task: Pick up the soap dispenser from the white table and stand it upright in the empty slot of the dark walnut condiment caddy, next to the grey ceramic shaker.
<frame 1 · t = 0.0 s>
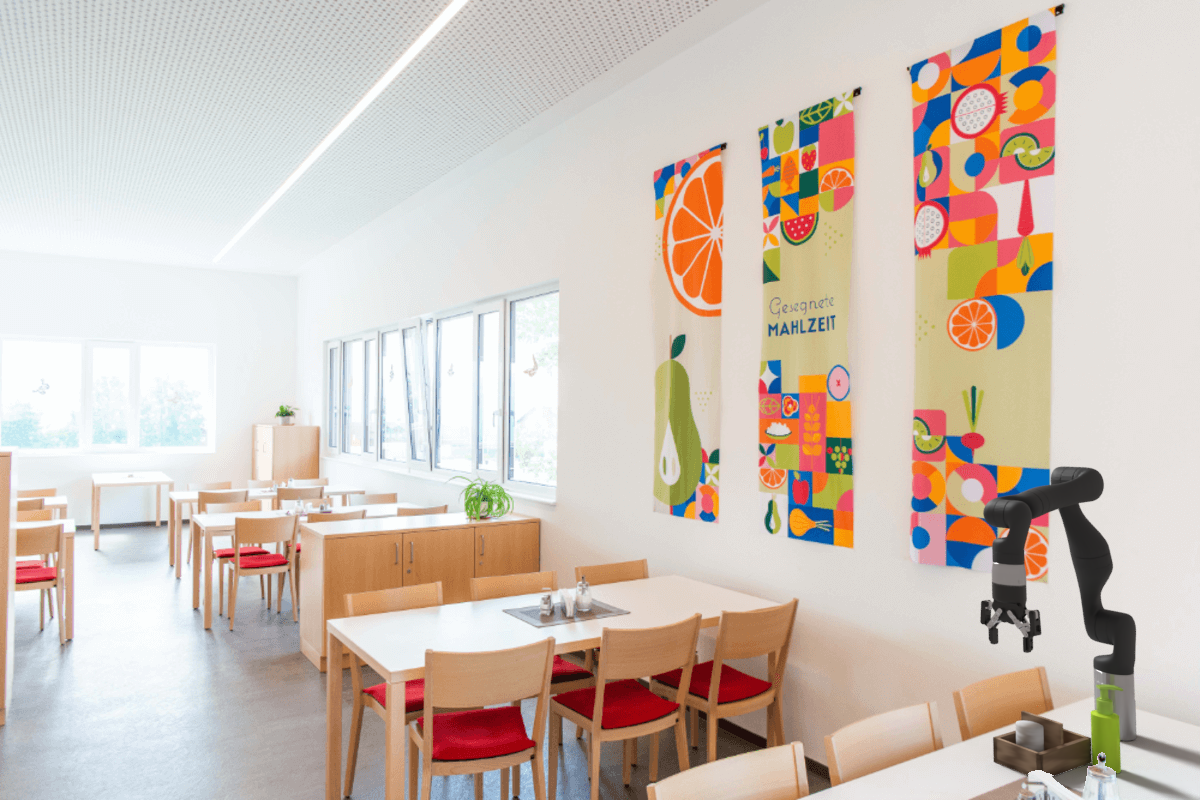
hand: (1010, 647, 188), 29 cm above the table, tool pointing down, fingers open, 8 cm apart
soap dispenser: (1108, 769, 187), on the table
caddy: (1042, 762, 191), on the table
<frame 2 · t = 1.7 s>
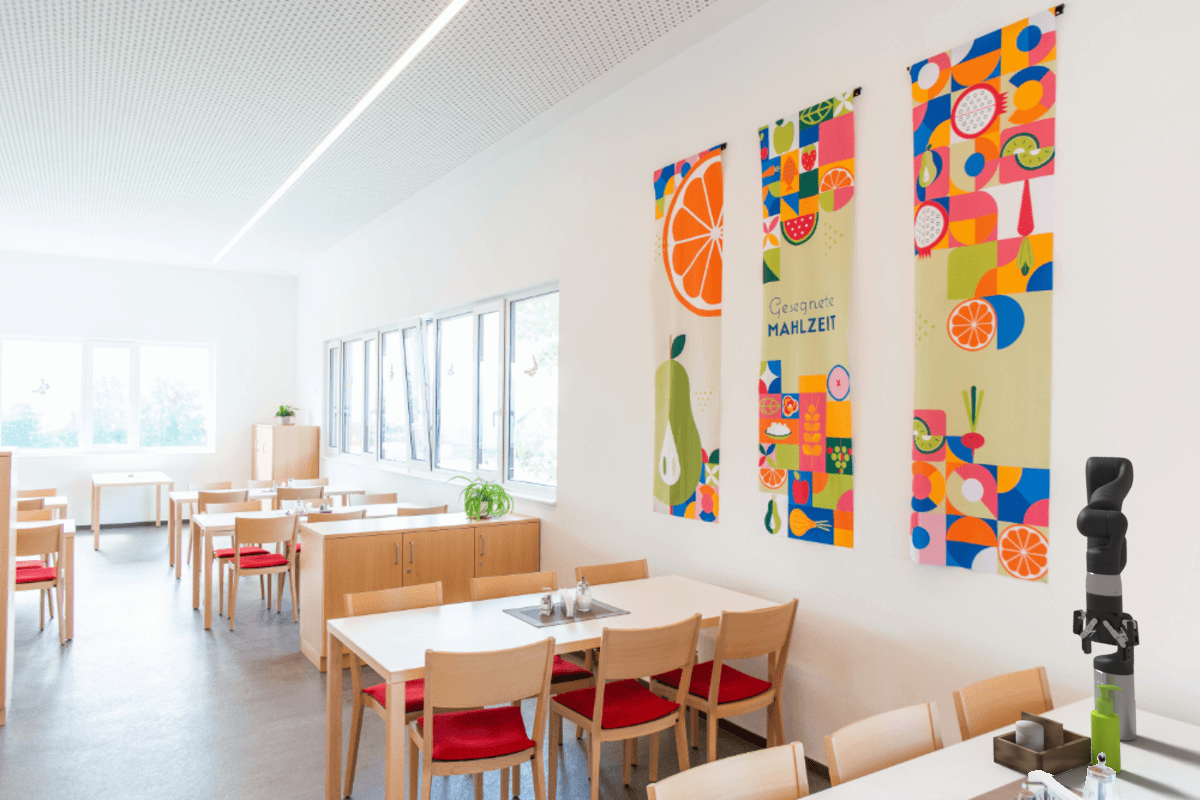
hand: (1105, 657, 188), 27 cm above the table, tool pointing down, fingers open, 8 cm apart
nothing on the table moved.
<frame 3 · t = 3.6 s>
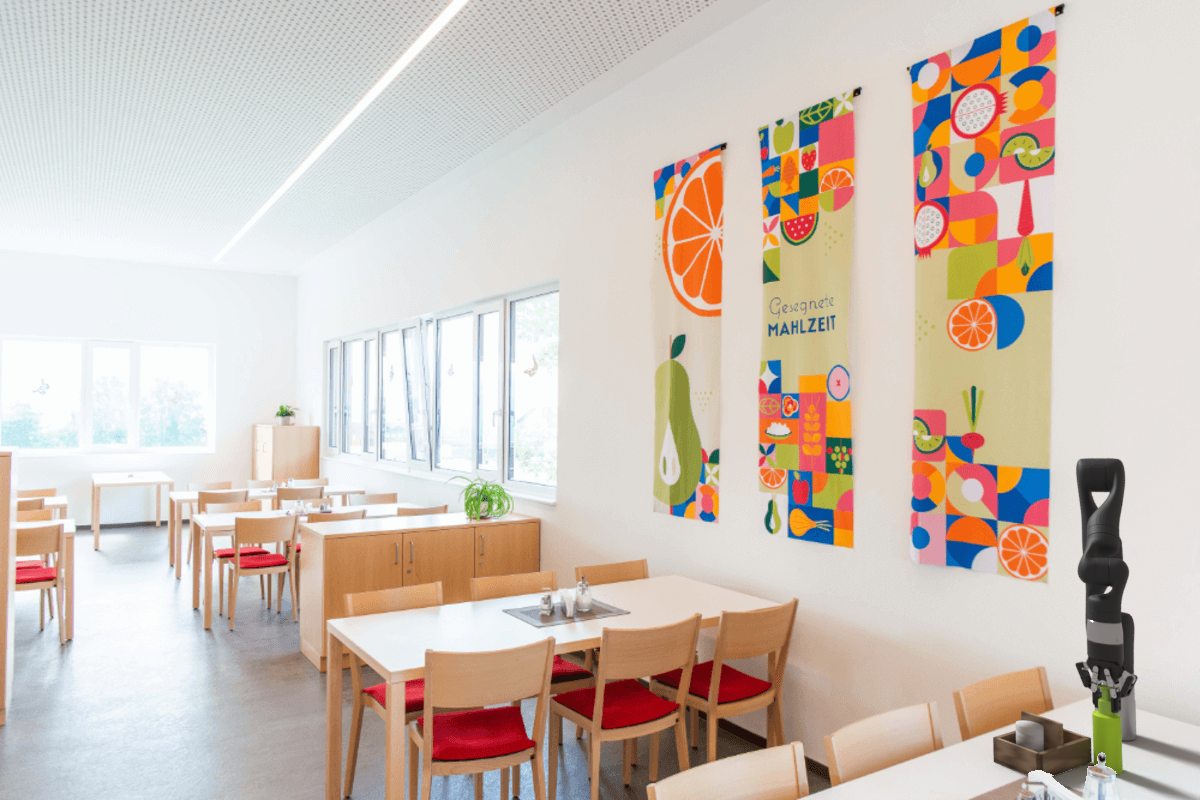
hand: (1106, 709, 188), 14 cm above the table, tool pointing down, fingers closed on soap dispenser, 3 cm apart
soap dispenser: (1110, 770, 187), on the table, touching gripper
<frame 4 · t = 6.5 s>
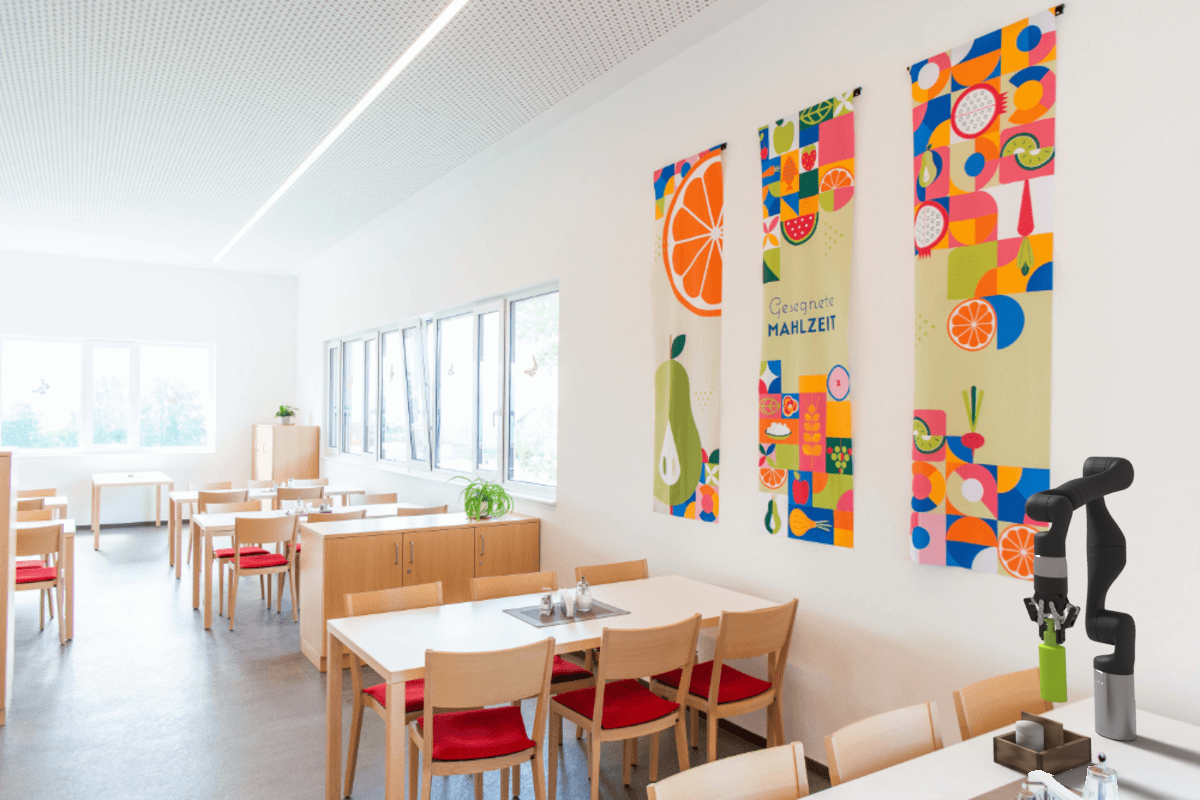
hand: (1052, 641, 195), 29 cm above the table, tool pointing down, fingers closed on soap dispenser, 3 cm apart
soap dispenser: (1056, 699, 193), point 15 cm above the table, touching gripper
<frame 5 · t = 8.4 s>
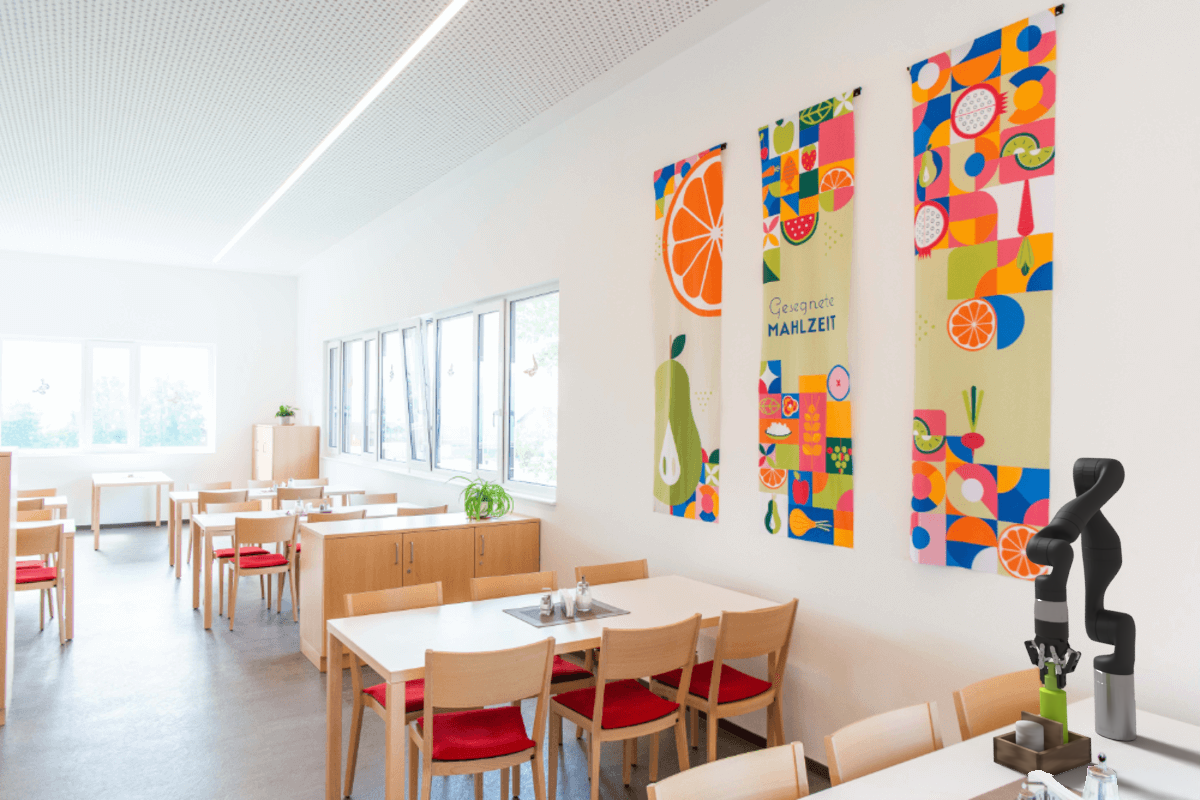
hand: (1052, 685, 194), 18 cm above the table, tool pointing down, fingers closed on soap dispenser, 3 cm apart
soap dispenser: (1057, 744, 193), point 4 cm above the table, touching gripper
when the fingers open (17 cm above the table, at t = 9.5 s): soap dispenser drops 1 cm, resting on caddy.
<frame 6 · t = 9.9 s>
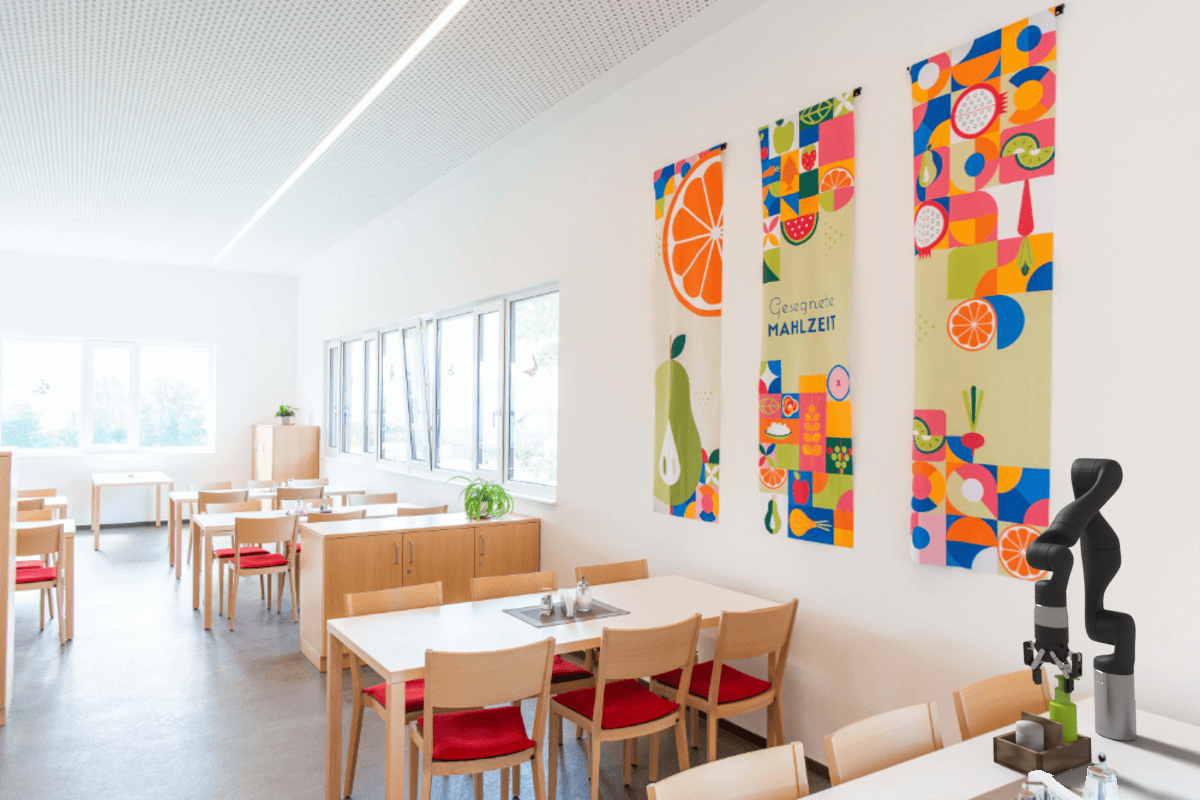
hand: (1052, 688, 194), 17 cm above the table, tool pointing down, fingers open, 7 cm apart
soap dispenser: (1066, 757, 192), point 1 cm above the table, touching caddy
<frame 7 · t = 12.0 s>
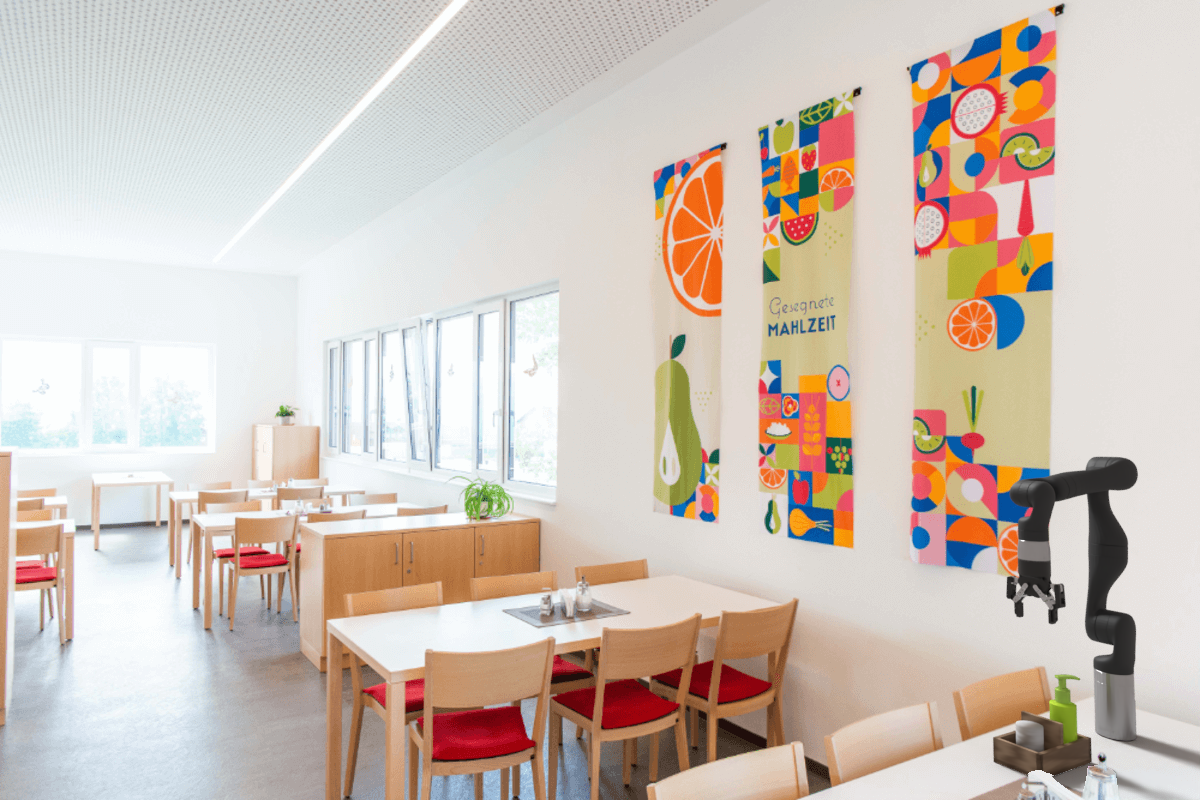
hand: (1035, 620, 199), 33 cm above the table, tool pointing down, fingers open, 8 cm apart
nothing on the table moved.
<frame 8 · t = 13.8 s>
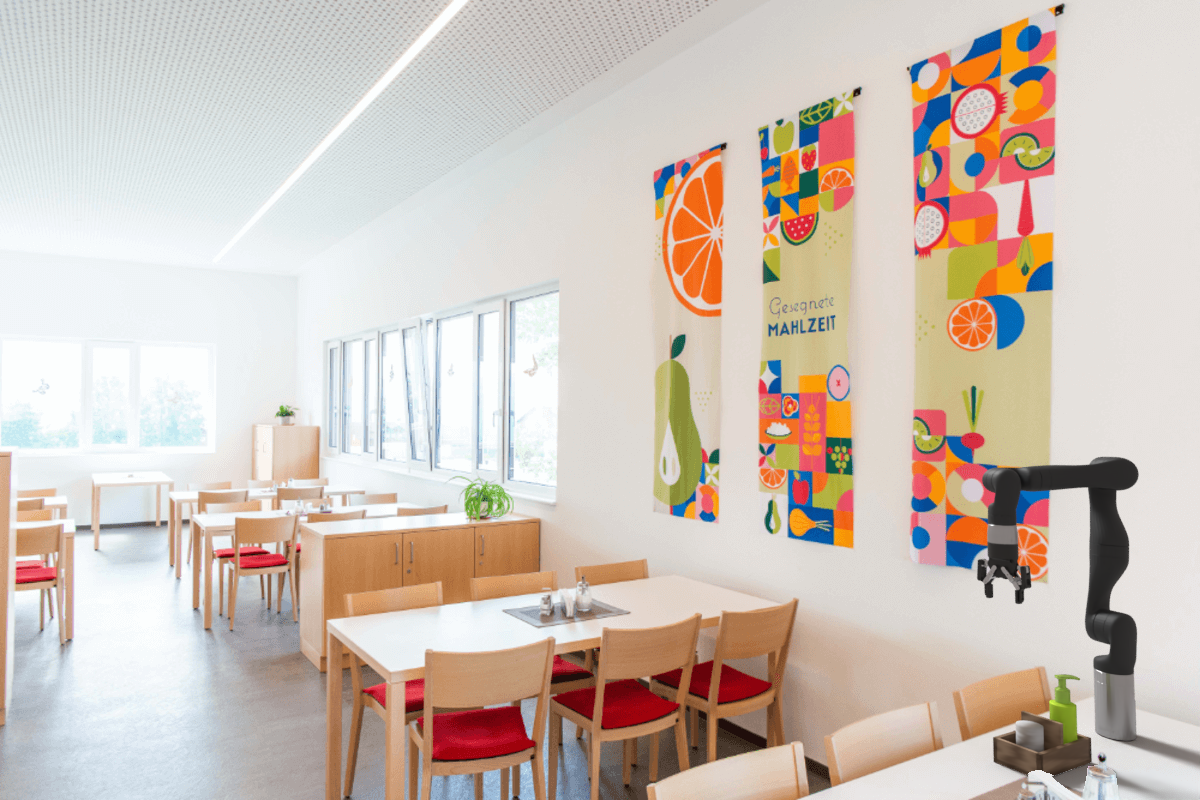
hand: (1003, 600, 210), 36 cm above the table, tool pointing down, fingers open, 8 cm apart
nothing on the table moved.
at the end: soap dispenser 2.5 cm from the target spot on the caddy, point 0.8 cm above the caddy's base; soap dispenser tilted 0°; the gripper is holding nothing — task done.
